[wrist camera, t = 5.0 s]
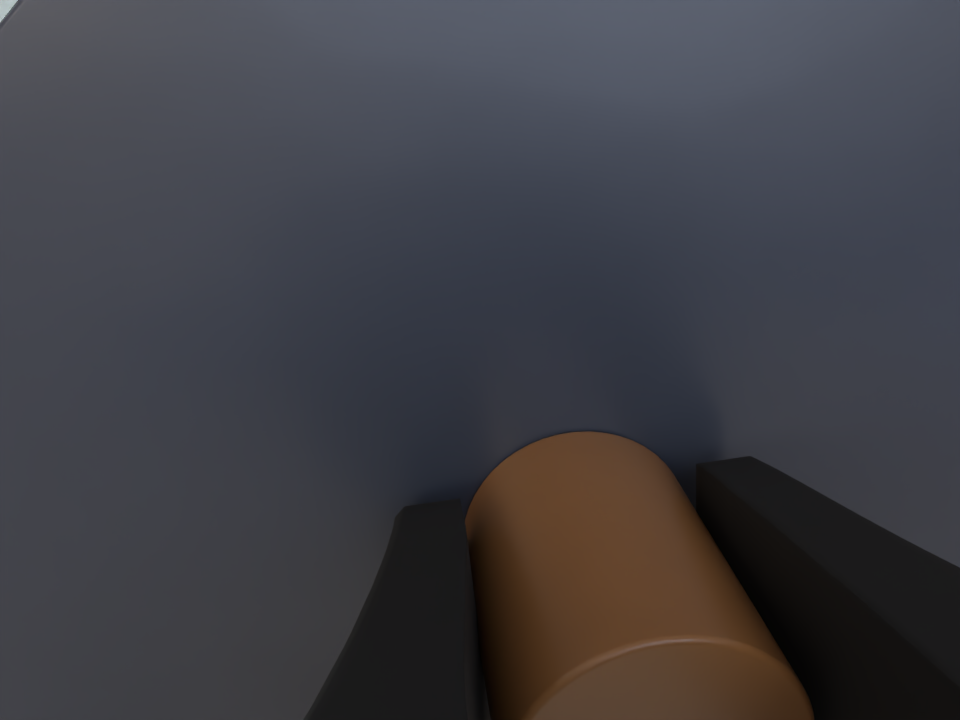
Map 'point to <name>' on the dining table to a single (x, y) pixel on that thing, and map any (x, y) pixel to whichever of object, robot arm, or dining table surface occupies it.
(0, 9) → the dining table surface
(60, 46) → the pan lid
